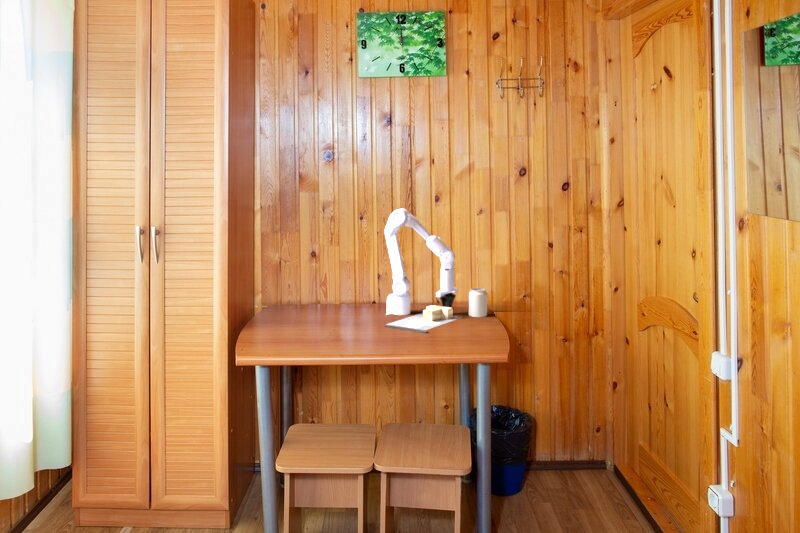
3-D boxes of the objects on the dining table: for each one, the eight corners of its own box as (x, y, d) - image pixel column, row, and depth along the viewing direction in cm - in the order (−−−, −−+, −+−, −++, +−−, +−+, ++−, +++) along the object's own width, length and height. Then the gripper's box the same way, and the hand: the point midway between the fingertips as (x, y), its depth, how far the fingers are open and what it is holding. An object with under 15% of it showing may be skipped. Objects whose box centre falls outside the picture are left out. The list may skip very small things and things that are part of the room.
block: (416, 319, 262) (416, 309, 261) (431, 314, 271) (431, 305, 270) (438, 322, 256) (438, 312, 256) (452, 317, 265) (452, 307, 265)
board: (385, 327, 253) (385, 324, 253) (424, 314, 276) (424, 312, 276) (425, 333, 243) (425, 330, 243) (462, 320, 266) (462, 317, 266)
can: (474, 315, 275) (475, 286, 274) (490, 317, 271) (490, 288, 269) (464, 318, 269) (465, 289, 268) (480, 320, 265) (481, 291, 263)
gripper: (447, 282, 261) (446, 316, 263) (464, 277, 273) (464, 310, 275) (431, 280, 265) (431, 314, 267) (449, 276, 277) (449, 308, 279)
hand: (447, 312), depth 271 cm, fingers closed
